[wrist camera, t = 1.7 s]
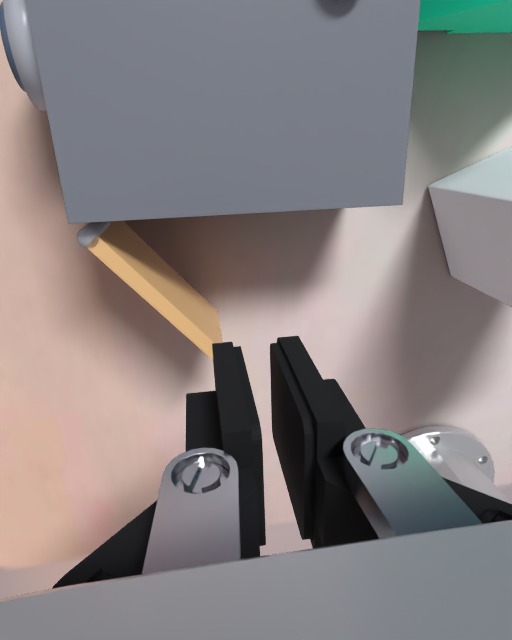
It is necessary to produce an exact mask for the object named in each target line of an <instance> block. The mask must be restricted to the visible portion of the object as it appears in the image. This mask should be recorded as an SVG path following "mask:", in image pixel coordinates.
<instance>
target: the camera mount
mask: <svg viewBox="0 0 512 640" xmlns="http://www.w3.org/2000/svg"><path fill="white" fill-rule="evenodd" d="M427 30H447V32H446V34H449V33H504V32H512V0H420V10H419V22H418V31H427Z"/></svg>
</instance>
